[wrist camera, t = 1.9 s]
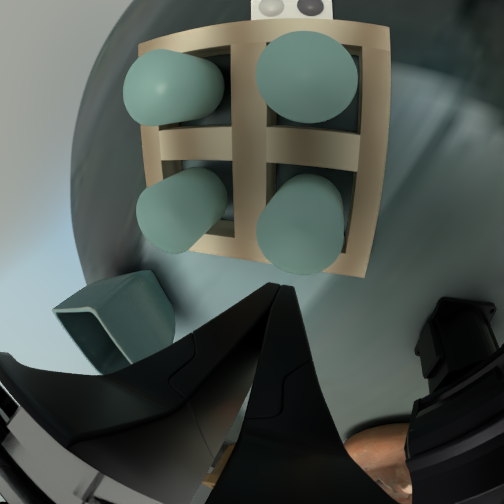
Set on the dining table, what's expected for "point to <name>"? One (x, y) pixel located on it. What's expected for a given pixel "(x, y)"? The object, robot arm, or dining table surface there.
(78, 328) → the flower pot
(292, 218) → the button
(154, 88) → the button
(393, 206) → the dining table surface
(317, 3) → the card
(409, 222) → the dining table surface
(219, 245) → the board
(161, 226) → the button
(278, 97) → the button
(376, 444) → the ceramic jug
